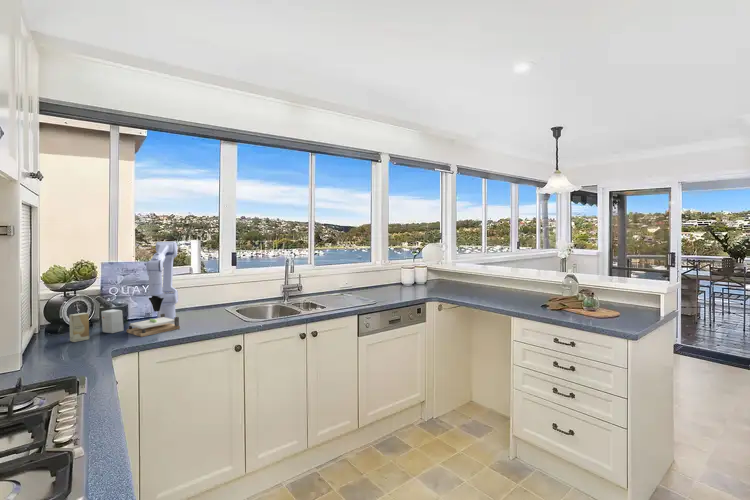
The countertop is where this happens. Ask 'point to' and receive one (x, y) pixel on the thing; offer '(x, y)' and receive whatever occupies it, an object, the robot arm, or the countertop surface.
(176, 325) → the oak base
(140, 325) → the levelling plate
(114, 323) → the small box
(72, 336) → the skincare box
